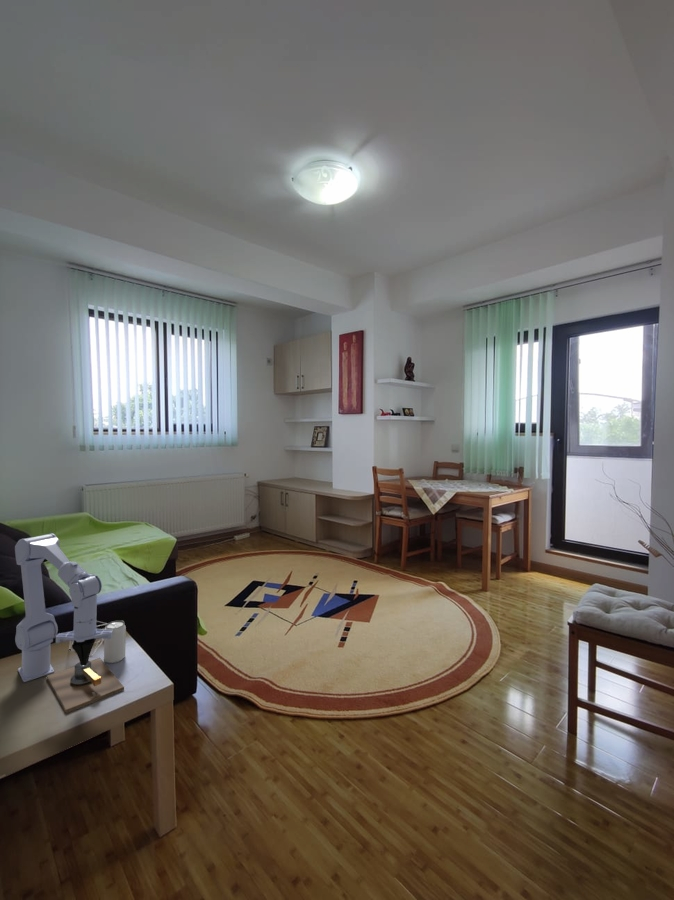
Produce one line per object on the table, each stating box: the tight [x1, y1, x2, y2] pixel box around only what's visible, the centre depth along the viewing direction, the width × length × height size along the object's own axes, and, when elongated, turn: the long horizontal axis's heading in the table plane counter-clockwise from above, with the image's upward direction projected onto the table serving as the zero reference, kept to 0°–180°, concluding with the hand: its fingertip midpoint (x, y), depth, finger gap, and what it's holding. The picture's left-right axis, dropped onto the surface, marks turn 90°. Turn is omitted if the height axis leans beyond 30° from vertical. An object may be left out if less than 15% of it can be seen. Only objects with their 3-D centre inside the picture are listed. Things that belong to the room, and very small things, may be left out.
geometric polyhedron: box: [68, 620, 108, 657], centre depth 146 cm, size 12×11×9 cm
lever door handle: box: [70, 660, 101, 686], centre depth 125 cm, size 13×7×4 cm, turn 52°
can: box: [103, 620, 127, 664], centre depth 140 cm, size 6×6×12 cm
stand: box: [46, 657, 125, 714], centre depth 126 cm, size 22×15×1 cm
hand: (84, 663), depth 121 cm, fingers closed
